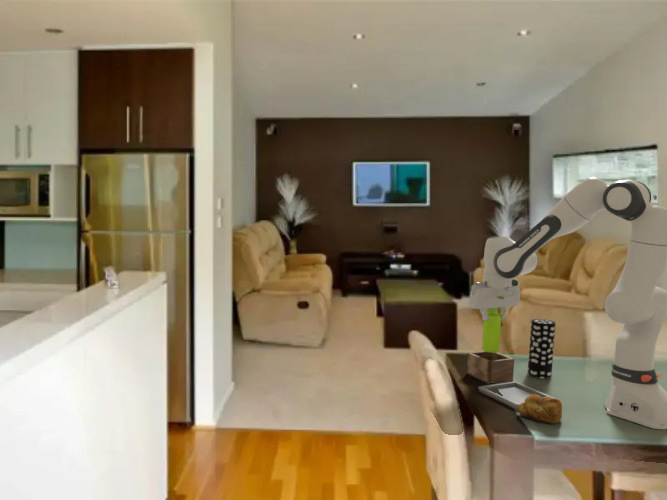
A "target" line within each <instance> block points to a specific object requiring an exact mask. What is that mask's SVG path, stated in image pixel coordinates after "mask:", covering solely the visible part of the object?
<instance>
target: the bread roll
mask: <svg viewBox="0 0 667 500" xmlns="http://www.w3.org/2000/svg"><path fill="white" fill-rule="evenodd" d="M551 397H552V396H551ZM551 397H543V398H542V397H540V396H538V395H536V394H531V395H530V396H528V397H527V398H526V399H525V402H523V403H521V404H520V405H519V406H518V410H517V412H518V413H519V414H520V415H521V416H523V417H525V418H528V419H533V420H535V421H538V422H540V423H544V424H551V425H552V424H553V425H554V424H557V423H558V422H560V421H561V420H562V417H563V404H562V402H561V400H560V399H558V398H556V399H555V397H554V398H551Z"/></svg>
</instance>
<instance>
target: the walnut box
mask: <svg viewBox="0 0 667 500" xmlns="http://www.w3.org/2000/svg"><path fill="white" fill-rule="evenodd" d="M514 369H515V358H513V357H511V356H507V355H505V354H502V353H500V352H496V353H491V352H485V351H483V350H482V351H480V350H479V351H473V352H472V351H471V352H467V358H466V373H467V372H468V373H471V374H472V375H475V376H477V377H479V378H481V379H483V380H485V381H488V382H494V383H495V384H501V383H508V382H514V371H515V370H514Z"/></svg>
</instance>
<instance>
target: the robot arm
mask: <svg viewBox="0 0 667 500" xmlns="http://www.w3.org/2000/svg"><path fill="white" fill-rule="evenodd" d="M651 201H652V193H651V191H650V188H649V187H648V186H647V185H646V184H645V183H642V181H637V180H634V179H622V180H621V179H620V180H617V181H614V182H612V183H610V184H608V183H607V182H605V181H604V180H603V179H601V178H599V177H595V176H592V177H591V176H590V177H588V178H586V179H584V180H582V181H581V182H579V183H578V184H577V185H576V186H574V187H573V188H572V189H571V190H570V191H568V192H567V193H566V194H565V195H564V196H563V197H562V198H561V199H560V200H559V201H558V202H557V203H556V204H555V205H554V206H553V207H552V208H551V209H550V211H549V212H547V214H546V215H545V216H544V217H543V218H542V219H541V220H540V221H539V222H537V224H535V225H534V226H533V227H531V228H530V230H529V231H528V232H526V233H525V234H524V235H523V236H522V237H521V238H519V239H518V240H517V241H515V240H513V239H512V238H511V237H510V236H509V235H497V236H496V235H495V236H490V237H488V238H487V240H486V242H485V246H484V251H483V252H484V253H483V254H484V255H483V262H484V268H483V272H482V281H480V282H479V281H478V282H477V281H476V282H475V283H473V284H472V285H471V290H470V294H469V299H468V300H469V301H468V306H469V307H470V308H471V309H474V310H479V312H480V314H481V315H482V316H481V317H482V318H481V319H482V321H483V322H484V321H488V320H489V316H487V314H486V313H487V312H488V308H498V309H501V310H500V313H499V314H501V321H503V320H505V318H506V314H507V312H508V310H509V308H510V307H511V308H512V307H518V306H519V304H520V301H521V289H520V284H521V281H520V280H518V279H516V277H519V276H523V275H527V274H530V273H532V272H533V271H535V269H536V268H537V266H538V263H539V262H538V261H539V258H538V255H537V251H538V250H539V249H541V248H542V247H543V246H544V245H546V244H547V243H549V242H550V241H552V240H554V239H556V238H558V237H562V236H566V235H569V234H572V233H574V232H576V231H578V230H579V229H581V228H582V227H584V226H586V224H588V223H589V222H590V221H591V220H592V219H593V218H595V216H596V215H598V214H599V213H600V212H601V211H604V210H607V212H609V213H610V214H612V215H614V216H616V217H619V218H621V219H623V220H625V221H627V222H630V223H631V229H630V230H631V232H630V236H629V243H628V247H627V254H626V259H625V262H624V267H623V270H622V272H621V274H620V276H619V278H618V281H617V282H616V285H615V286H614V288H613V290H612V291H611V292H610V293H609V294H608V295H607V296H606V298H605V301H604V311H605V313H606V315H607V316H608V318H609V319H610V320H611V321H613V322H615V323H619V324H624V325H623V327H622V329H621V331H620V333H619V334H618V336H616V340H615V345H614V347H615V348H614V359H613V363H612V365H611V377H612V378H611V384H610V388H609V393H608V396H607V399H606V401H605V403H604V407H605V409H606V414H608V415H611V416H613V417H617V418H620V419H623V420H627V421H628V422H633V423H634V424H635V423H636V424H639V425H641V426H644V427H647V428H651V429H653V430H667V391H666V390H665V389H664V388H663V386H661V385H660V383H659V379H660V378H662V373H658V374H657V372H656V370H655V367H654V365H655V358H656V357H655V356H656V348H657V342H658V339H659V335H660V333H661V330H662V328H663V325H664V322H665V319H666V317H667V290H666V289H664V288H662V287H660V286H657V284H658V283H659V281H660V279H661V278H662V276H663V275H664V274H665V272H666V270H667V208H666V207H663V206H661V205H656V204H653V203H651ZM497 296H502V297H504V298H505V299H499V298H497Z"/></svg>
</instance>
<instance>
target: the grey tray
mask: <svg viewBox="0 0 667 500" xmlns="http://www.w3.org/2000/svg"><path fill="white" fill-rule="evenodd" d="M491 388H498V390H499V392H500V393H501V394H502V395H503V396H501V395H499V394H497V393H494V392H492V391H490V390H488V389H491ZM478 389H480V390H482V391H484V392H486V393H488V394H490V395H492V396H494V397H496V398H498V399H499V400H501V401H503V402H505V403H507V404H509V405H510V406H511V407H513V408H514V409H513V408H512V409H513V410H515V411H518V406H519V405H520V404H521V403H523V402H525V399H526V398H527V397H528V396H530V395H531V394H536V395H538V396H540V397H542V398H543V397H551V398H555V397H553V396H551V395H549V394H547V393H544V392H542V391H540V390H537V389H535V388H532V387H530V386H527V385H525V384H523V383H521V382H518V381H509V382H502V383H495V384H487V385H486V384H485V385H481V386H479V385H478ZM555 399H557V398H555ZM511 407H510V408H511Z"/></svg>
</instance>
